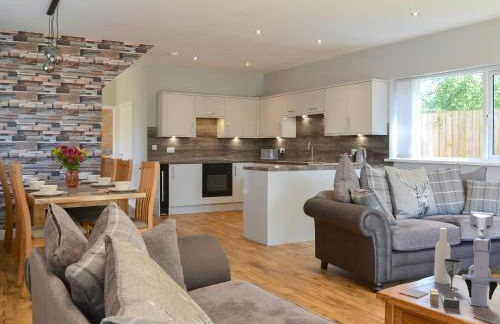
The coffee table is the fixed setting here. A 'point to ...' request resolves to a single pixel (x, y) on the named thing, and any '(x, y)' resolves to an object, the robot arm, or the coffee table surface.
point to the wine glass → (452, 270)
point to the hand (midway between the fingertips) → (480, 298)
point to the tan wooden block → (434, 296)
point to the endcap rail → (451, 303)
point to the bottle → (441, 258)
